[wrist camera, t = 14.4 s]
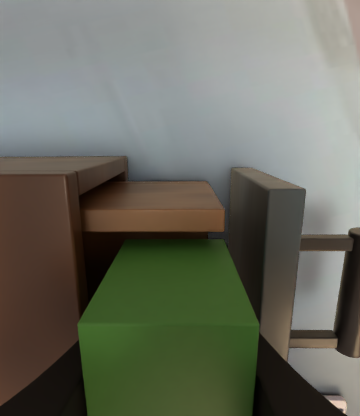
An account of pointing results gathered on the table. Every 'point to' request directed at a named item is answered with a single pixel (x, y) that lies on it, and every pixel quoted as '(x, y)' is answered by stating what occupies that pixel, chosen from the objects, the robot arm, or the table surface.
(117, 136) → the table surface
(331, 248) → the drawer
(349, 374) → the table surface
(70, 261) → the cabinet
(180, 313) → the green rectangular box
